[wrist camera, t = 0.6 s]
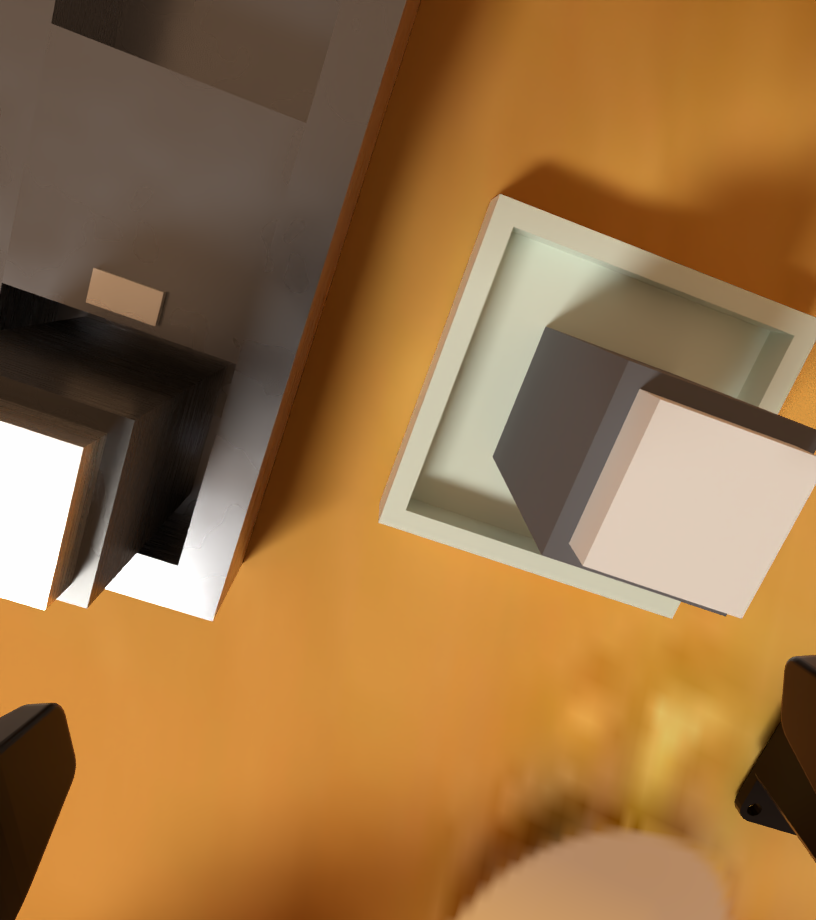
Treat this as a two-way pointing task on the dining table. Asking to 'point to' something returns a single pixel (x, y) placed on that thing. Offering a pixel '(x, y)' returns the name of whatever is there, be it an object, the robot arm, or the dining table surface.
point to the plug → (652, 475)
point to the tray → (587, 318)
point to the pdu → (167, 272)
